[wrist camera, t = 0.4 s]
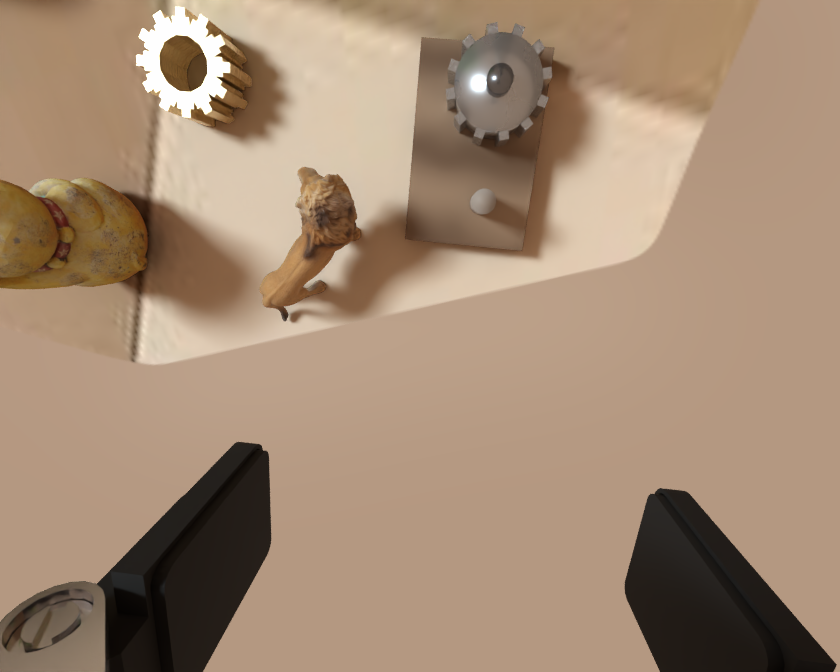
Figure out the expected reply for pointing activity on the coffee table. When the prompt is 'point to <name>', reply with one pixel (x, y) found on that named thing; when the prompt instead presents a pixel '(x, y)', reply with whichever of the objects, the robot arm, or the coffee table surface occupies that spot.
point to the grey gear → (497, 85)
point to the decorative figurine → (68, 235)
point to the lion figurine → (312, 239)
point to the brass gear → (172, 60)
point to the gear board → (466, 166)
